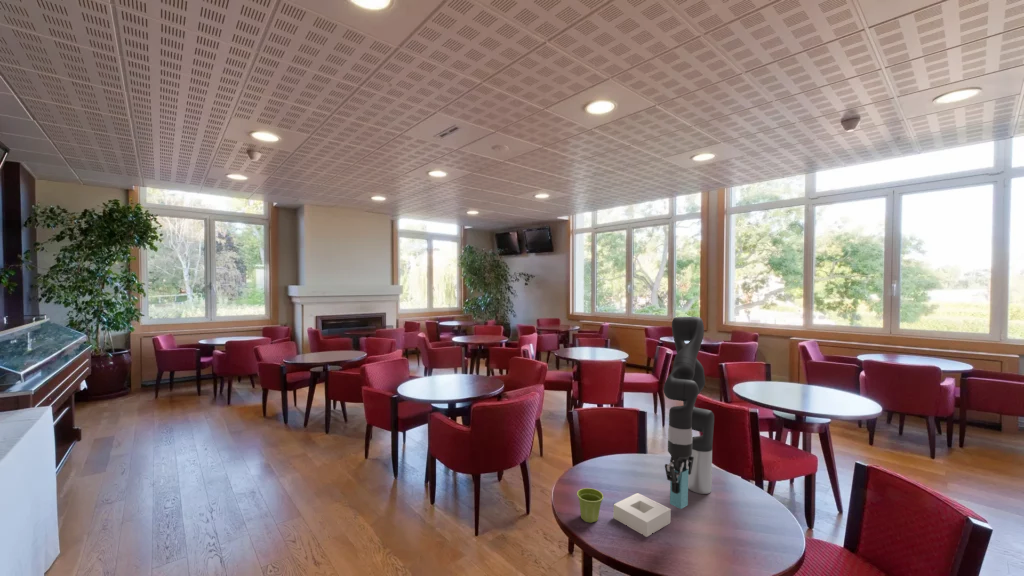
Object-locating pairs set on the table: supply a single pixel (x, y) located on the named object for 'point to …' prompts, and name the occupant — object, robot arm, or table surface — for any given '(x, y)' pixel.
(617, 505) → the well block
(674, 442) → the robot arm
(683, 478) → the bracket post
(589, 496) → the plant pot
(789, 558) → the table surface
